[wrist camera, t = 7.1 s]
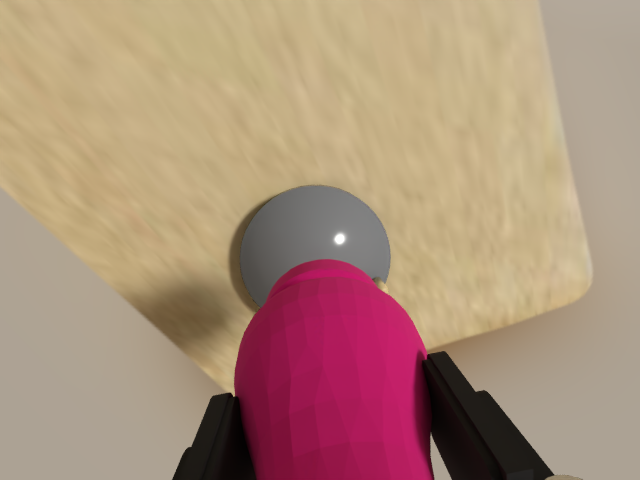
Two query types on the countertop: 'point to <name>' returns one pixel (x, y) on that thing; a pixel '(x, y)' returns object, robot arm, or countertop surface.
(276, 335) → the pepper mill
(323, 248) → the grey flat disc
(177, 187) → the countertop surface
